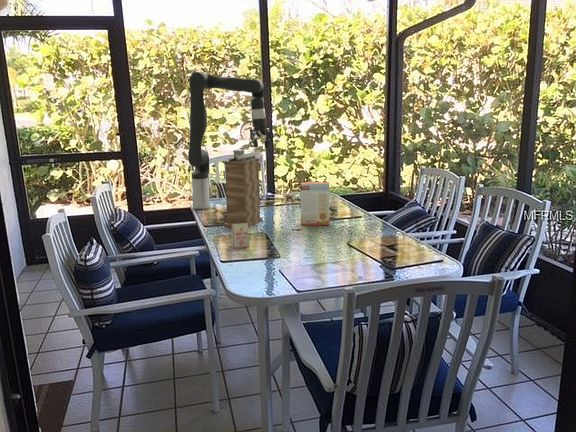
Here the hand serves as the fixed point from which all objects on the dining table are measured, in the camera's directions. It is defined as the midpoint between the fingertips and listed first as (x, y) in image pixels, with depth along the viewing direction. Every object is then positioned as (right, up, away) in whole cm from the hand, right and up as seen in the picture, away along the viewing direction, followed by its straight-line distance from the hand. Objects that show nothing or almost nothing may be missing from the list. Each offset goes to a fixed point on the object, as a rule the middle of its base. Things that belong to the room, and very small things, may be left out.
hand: (261, 147), depth 273 cm
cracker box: (+28, -42, -25) cm, 56 cm away
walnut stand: (-8, -41, -22) cm, 47 cm away
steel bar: (-5, -9, -24) cm, 26 cm away
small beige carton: (-6, -51, -61) cm, 79 cm away
